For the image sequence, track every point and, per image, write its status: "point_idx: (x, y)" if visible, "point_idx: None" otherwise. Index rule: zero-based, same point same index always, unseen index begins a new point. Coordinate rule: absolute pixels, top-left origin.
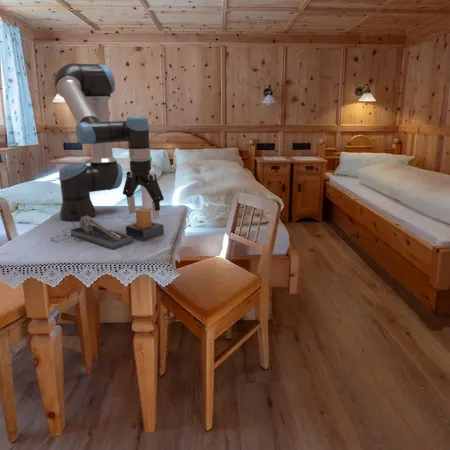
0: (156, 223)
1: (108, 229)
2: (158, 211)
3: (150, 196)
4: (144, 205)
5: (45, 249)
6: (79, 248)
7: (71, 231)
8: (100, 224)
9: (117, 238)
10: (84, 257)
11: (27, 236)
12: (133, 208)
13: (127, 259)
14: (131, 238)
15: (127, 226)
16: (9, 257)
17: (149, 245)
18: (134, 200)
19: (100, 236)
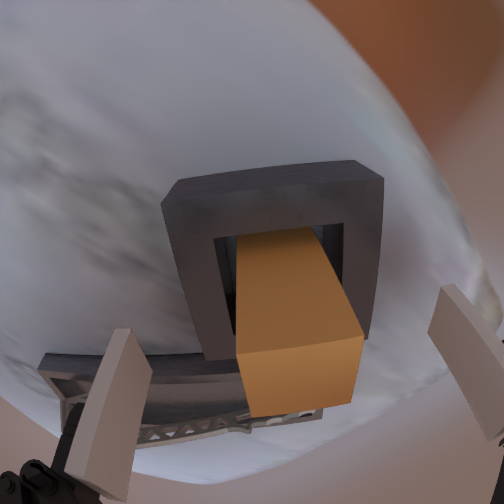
0: (316, 193)
1: (228, 428)
2: (483, 328)
3: (494, 490)
4: None
5: (175, 458)
6: (225, 436)
7: None
8: (174, 441)
9: None
10: (302, 441)
11: (58, 433)
12: (127, 376)
13: (412, 389)
14: None
15: (218, 358)
16: (183, 480)
17: (405, 307)
18: (96, 434)
19: (166, 391)
